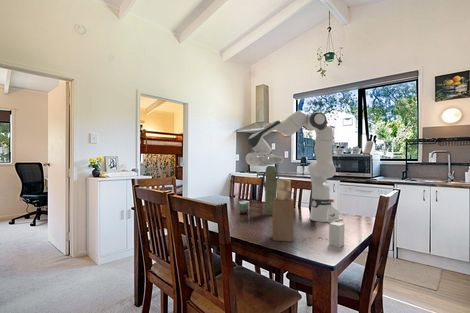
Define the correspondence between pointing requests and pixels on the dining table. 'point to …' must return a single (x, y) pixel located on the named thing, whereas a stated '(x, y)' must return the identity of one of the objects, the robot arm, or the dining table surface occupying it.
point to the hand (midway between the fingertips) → (274, 159)
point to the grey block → (336, 234)
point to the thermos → (270, 189)
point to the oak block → (283, 189)
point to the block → (283, 220)
